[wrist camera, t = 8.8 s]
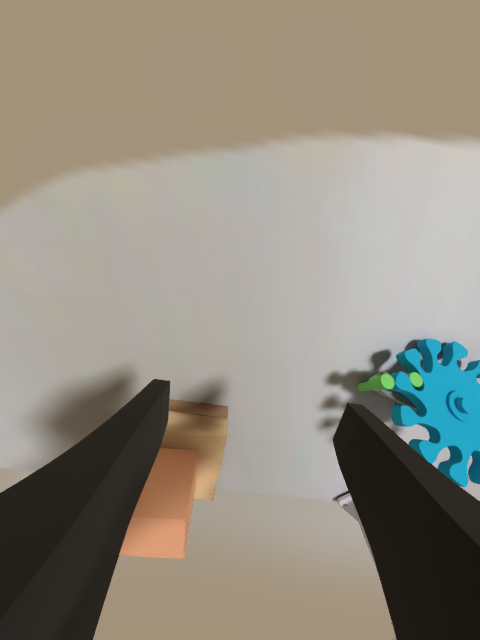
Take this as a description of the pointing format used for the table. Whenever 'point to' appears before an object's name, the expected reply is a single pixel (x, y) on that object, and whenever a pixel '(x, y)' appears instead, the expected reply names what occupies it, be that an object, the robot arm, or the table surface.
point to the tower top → (199, 446)
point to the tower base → (198, 409)
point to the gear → (437, 405)
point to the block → (164, 507)
